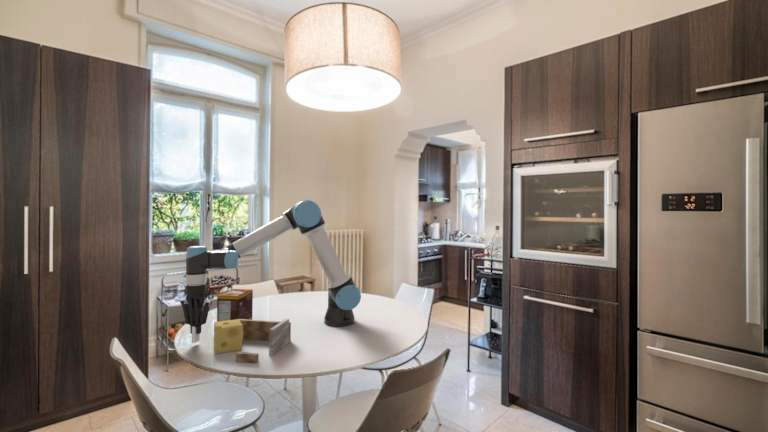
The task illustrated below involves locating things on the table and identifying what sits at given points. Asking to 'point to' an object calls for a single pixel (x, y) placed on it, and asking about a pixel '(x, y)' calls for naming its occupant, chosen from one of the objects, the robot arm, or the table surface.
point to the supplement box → (235, 305)
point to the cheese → (228, 336)
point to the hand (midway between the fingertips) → (195, 341)
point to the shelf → (265, 336)
